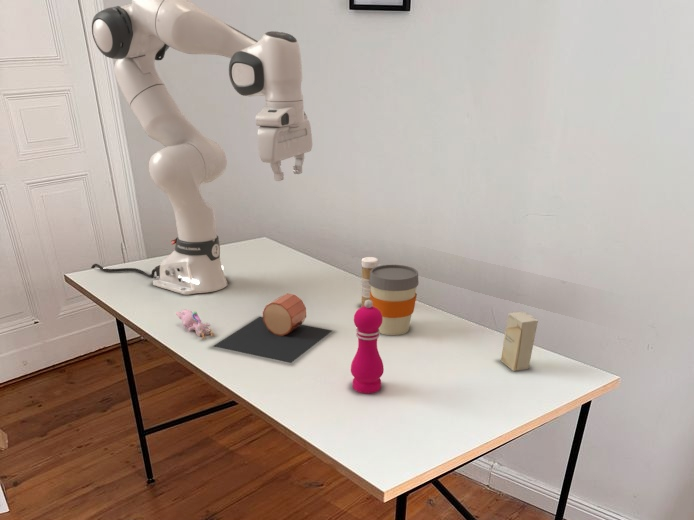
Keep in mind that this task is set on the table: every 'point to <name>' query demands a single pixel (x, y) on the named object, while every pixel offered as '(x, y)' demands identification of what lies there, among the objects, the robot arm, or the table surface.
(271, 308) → the cup
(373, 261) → the spice jar
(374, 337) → the pepper mill
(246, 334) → the mat
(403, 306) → the reusable coffee cup
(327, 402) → the table surface
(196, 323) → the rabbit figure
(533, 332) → the cosmetic box
